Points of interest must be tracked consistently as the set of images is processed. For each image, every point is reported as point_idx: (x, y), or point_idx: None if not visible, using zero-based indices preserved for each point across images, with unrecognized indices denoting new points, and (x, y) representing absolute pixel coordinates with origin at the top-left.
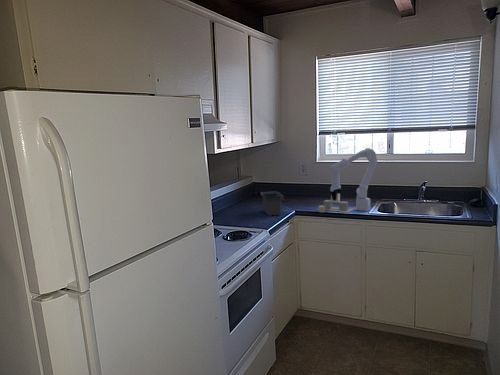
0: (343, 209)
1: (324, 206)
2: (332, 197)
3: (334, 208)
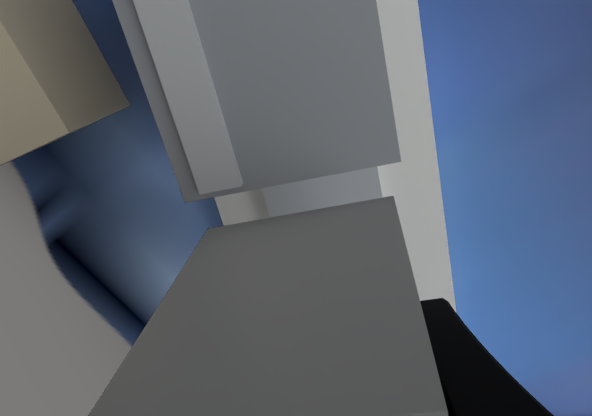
0: None
1: (9, 158)
2: None
3: None
